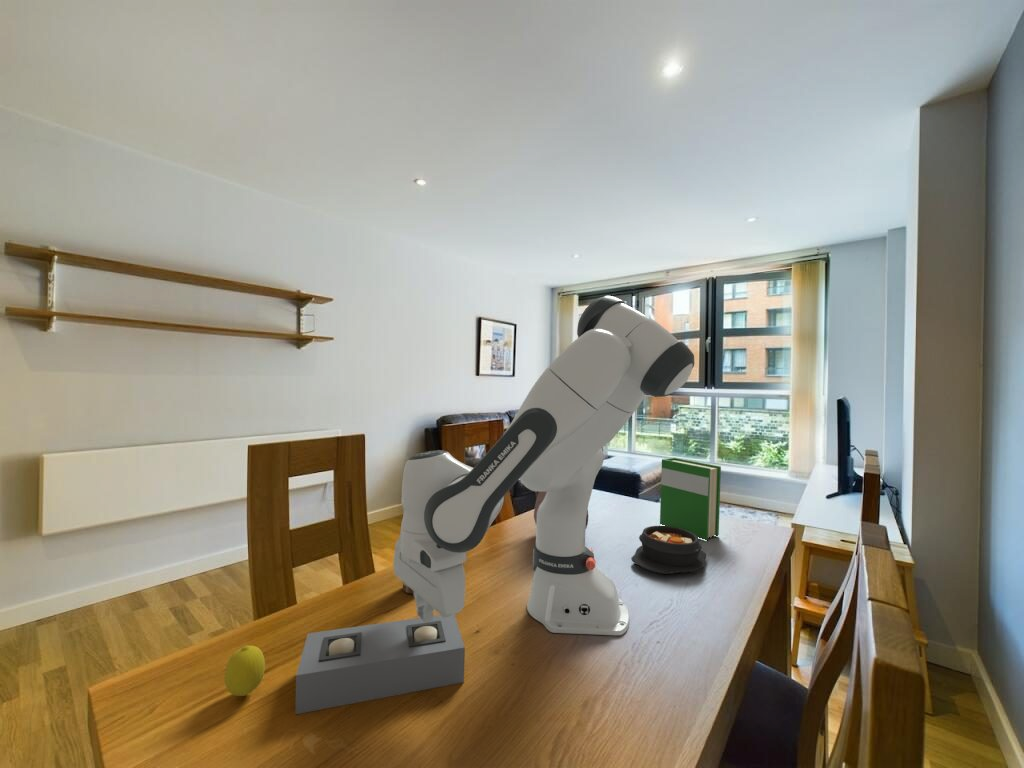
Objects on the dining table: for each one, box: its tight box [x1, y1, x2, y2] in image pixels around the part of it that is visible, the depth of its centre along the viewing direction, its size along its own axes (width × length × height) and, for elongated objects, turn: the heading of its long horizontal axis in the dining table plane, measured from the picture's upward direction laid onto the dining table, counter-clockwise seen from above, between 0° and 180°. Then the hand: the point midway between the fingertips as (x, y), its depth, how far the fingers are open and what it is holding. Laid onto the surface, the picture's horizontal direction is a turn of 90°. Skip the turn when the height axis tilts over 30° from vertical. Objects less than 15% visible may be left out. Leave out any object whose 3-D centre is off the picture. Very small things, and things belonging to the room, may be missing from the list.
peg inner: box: [414, 626, 437, 642], centre depth 76 cm, size 4×4×6 cm
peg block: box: [295, 614, 466, 715], centre depth 74 cm, size 26×11×6 cm, turn 107°
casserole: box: [630, 525, 707, 575], centre depth 122 cm, size 25×19×8 cm
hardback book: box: [659, 457, 722, 541], centre depth 148 cm, size 18×7×24 cm, turn 36°
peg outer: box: [329, 638, 354, 656], centre depth 72 cm, size 4×4×6 cm
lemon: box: [224, 644, 266, 697], centre depth 69 cm, size 6×6×8 cm
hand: (424, 617), depth 77 cm, fingers closed
